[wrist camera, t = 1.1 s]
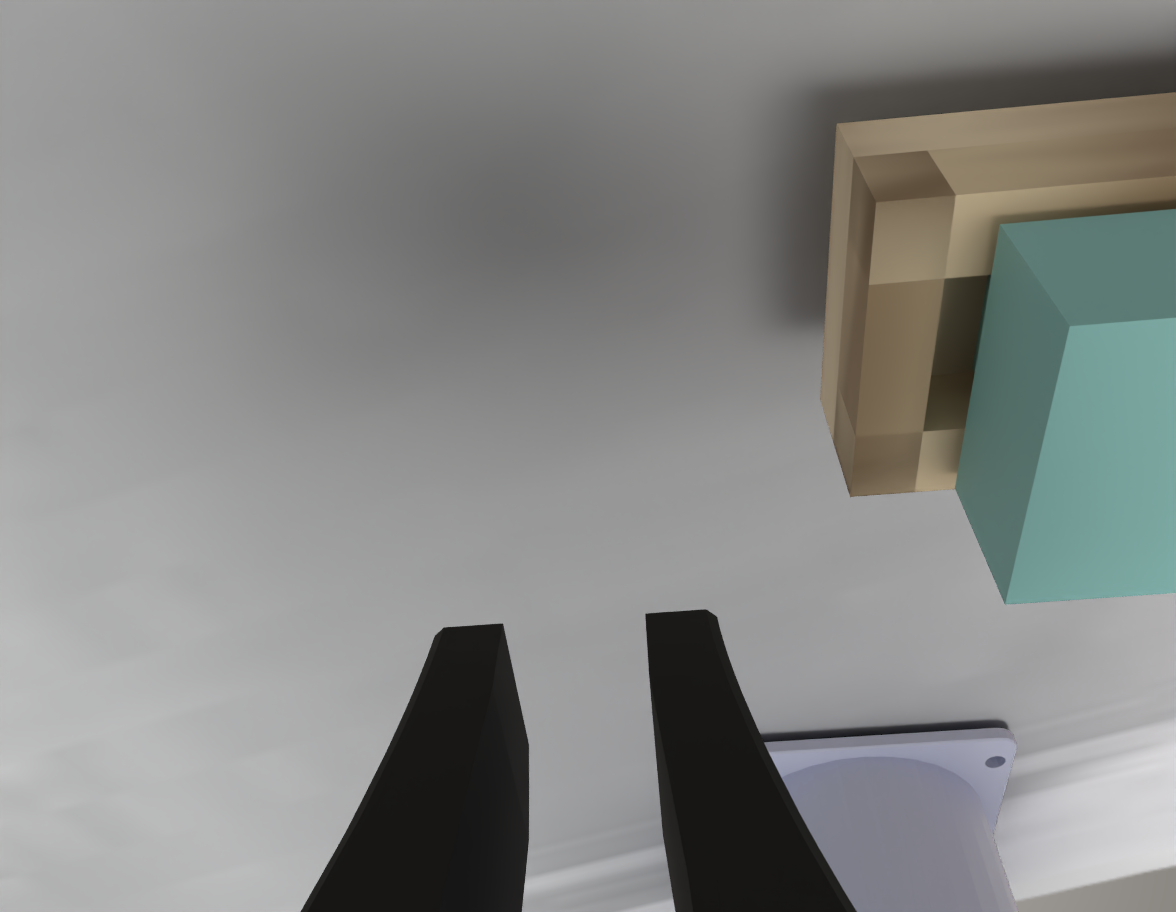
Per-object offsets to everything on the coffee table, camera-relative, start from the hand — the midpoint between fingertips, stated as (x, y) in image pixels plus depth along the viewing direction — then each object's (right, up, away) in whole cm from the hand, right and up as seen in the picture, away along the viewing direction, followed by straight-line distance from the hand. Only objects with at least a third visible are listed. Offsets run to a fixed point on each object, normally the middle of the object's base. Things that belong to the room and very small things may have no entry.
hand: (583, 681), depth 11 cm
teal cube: (+7, +5, +5) cm, 10 cm away
